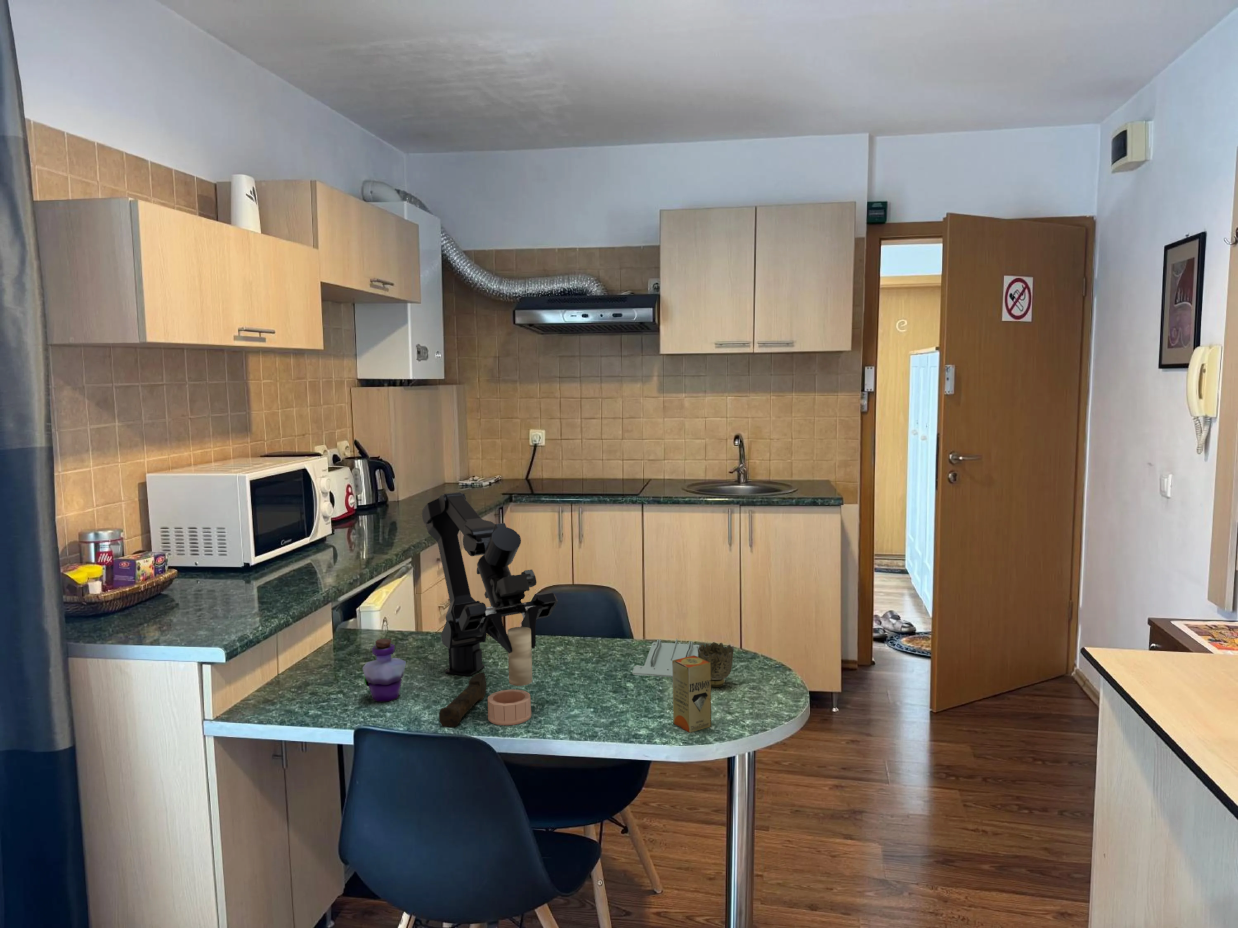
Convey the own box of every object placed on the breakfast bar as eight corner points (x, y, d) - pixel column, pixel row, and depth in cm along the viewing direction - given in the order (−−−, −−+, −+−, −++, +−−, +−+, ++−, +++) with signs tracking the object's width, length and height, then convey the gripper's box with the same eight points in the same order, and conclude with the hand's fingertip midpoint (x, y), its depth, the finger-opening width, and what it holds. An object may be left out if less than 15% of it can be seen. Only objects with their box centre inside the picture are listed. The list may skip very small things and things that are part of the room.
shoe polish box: (673, 723, 156) (672, 660, 155) (694, 717, 159) (694, 655, 158) (689, 732, 152) (688, 667, 151) (711, 726, 155) (710, 662, 153)
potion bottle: (361, 693, 175) (358, 637, 174) (404, 687, 178) (401, 631, 177) (366, 708, 167) (363, 649, 166) (411, 700, 170) (408, 642, 169)
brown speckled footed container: (690, 685, 175) (690, 648, 174) (712, 676, 180) (711, 639, 180) (720, 694, 170) (719, 655, 169) (741, 684, 175) (740, 646, 175)
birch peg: (504, 682, 160) (502, 631, 159) (519, 675, 164) (517, 625, 163) (522, 687, 158) (521, 635, 157) (537, 679, 161) (535, 628, 160)
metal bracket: (644, 632, 194) (709, 636, 190) (646, 654, 196) (711, 658, 192) (630, 670, 181) (699, 674, 177) (632, 692, 183) (701, 697, 179)
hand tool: (458, 729, 156) (457, 704, 156) (438, 727, 157) (437, 703, 157) (498, 692, 175) (497, 670, 174) (480, 691, 176) (479, 669, 175)
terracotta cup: (479, 722, 159) (479, 702, 158) (501, 705, 166) (500, 687, 166) (518, 727, 156) (518, 707, 155) (538, 711, 163) (538, 691, 163)
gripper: (461, 563, 157) (486, 636, 149) (552, 551, 166) (580, 619, 158) (449, 595, 164) (471, 667, 156) (536, 582, 174) (562, 648, 166)
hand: (522, 649), depth 159 cm, fingers closed on birch peg, 4 cm apart
